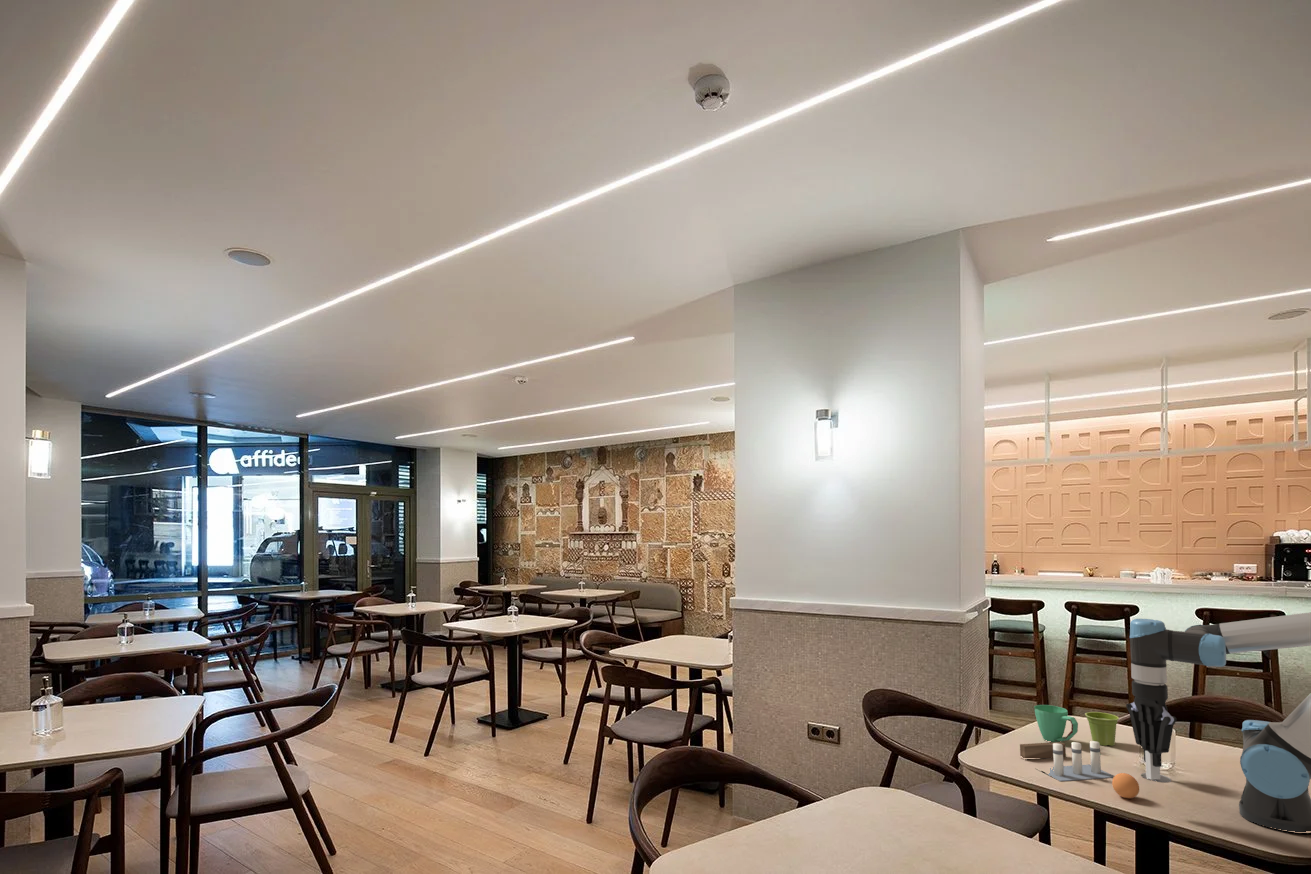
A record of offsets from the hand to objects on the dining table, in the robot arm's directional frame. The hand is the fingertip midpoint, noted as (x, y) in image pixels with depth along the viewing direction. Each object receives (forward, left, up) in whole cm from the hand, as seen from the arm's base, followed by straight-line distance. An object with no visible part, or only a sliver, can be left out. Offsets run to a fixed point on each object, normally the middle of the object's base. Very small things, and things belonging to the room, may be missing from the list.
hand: (1153, 778), depth 183 cm
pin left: (+26, +6, -8) cm, 28 cm away
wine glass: (+20, -20, -8) cm, 30 cm away
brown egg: (+9, 0, -5) cm, 10 cm away
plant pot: (+49, -29, -8) cm, 58 cm away
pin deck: (+27, 0, -8) cm, 28 cm away
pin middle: (+26, 0, -8) cm, 27 cm away
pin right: (+26, -6, -8) cm, 28 cm away
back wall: (+40, 0, -8) cm, 41 cm away
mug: (+52, -15, -8) cm, 55 cm away
